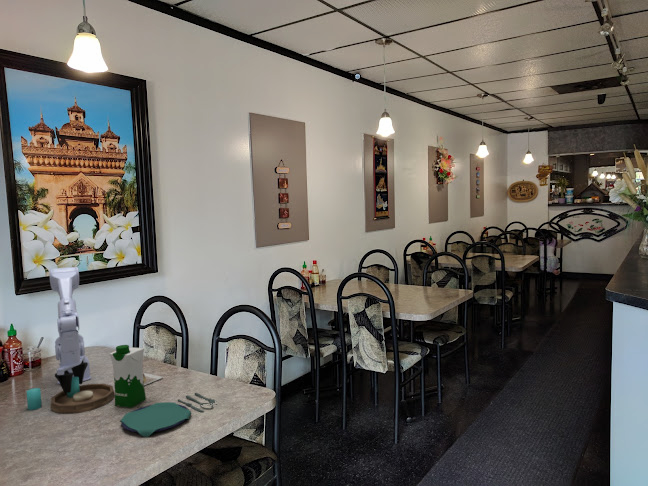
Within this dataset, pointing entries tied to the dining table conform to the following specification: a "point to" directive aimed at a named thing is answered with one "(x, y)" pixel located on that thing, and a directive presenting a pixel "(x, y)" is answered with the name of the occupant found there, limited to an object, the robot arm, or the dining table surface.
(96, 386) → the groove tray
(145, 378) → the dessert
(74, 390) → the teal upright block
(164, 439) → the dining table surface
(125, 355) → the milk carton
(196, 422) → the dining table surface
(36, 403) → the bead
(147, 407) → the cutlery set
